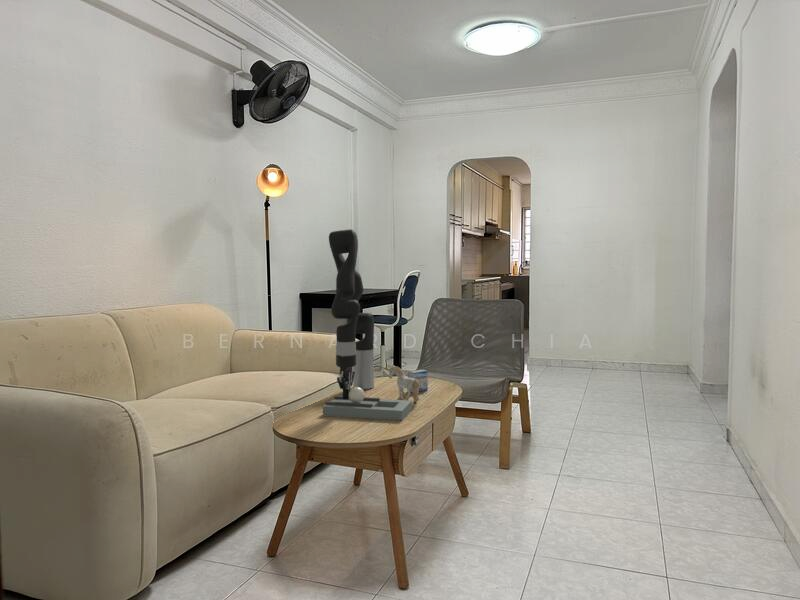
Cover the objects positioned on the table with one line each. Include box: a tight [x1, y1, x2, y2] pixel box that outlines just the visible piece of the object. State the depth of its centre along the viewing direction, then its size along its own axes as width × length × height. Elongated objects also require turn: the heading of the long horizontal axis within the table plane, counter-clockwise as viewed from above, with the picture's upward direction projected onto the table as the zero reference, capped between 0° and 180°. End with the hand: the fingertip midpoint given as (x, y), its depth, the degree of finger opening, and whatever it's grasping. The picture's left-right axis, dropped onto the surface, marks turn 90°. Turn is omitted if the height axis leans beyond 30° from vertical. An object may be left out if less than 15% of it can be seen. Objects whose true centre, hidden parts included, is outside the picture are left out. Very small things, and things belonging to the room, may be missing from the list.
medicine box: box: [407, 369, 429, 393], centre depth 252 cm, size 8×4×9 cm, turn 129°
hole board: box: [322, 395, 413, 421], centre depth 217 cm, size 15×30×4 cm, turn 75°
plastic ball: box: [349, 387, 366, 403], centre depth 218 cm, size 6×6×6 cm
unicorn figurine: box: [380, 365, 420, 403], centre depth 235 cm, size 7×20×13 cm, turn 52°
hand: (346, 398), depth 219 cm, fingers closed
